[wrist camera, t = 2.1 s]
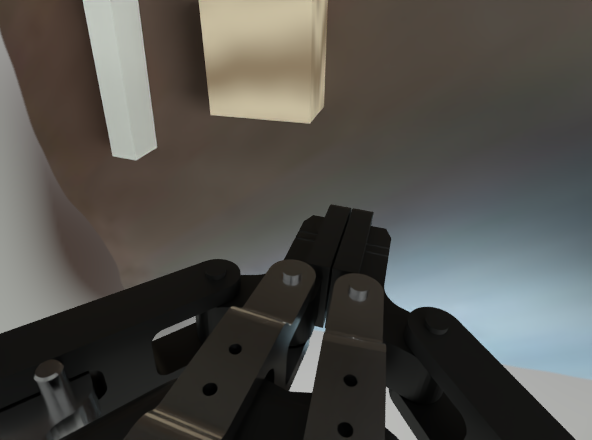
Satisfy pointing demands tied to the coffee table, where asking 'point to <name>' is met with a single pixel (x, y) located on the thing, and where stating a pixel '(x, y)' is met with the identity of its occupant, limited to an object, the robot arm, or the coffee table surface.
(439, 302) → the coffee table surface
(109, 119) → the board
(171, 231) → the coffee table surface
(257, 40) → the maple block
